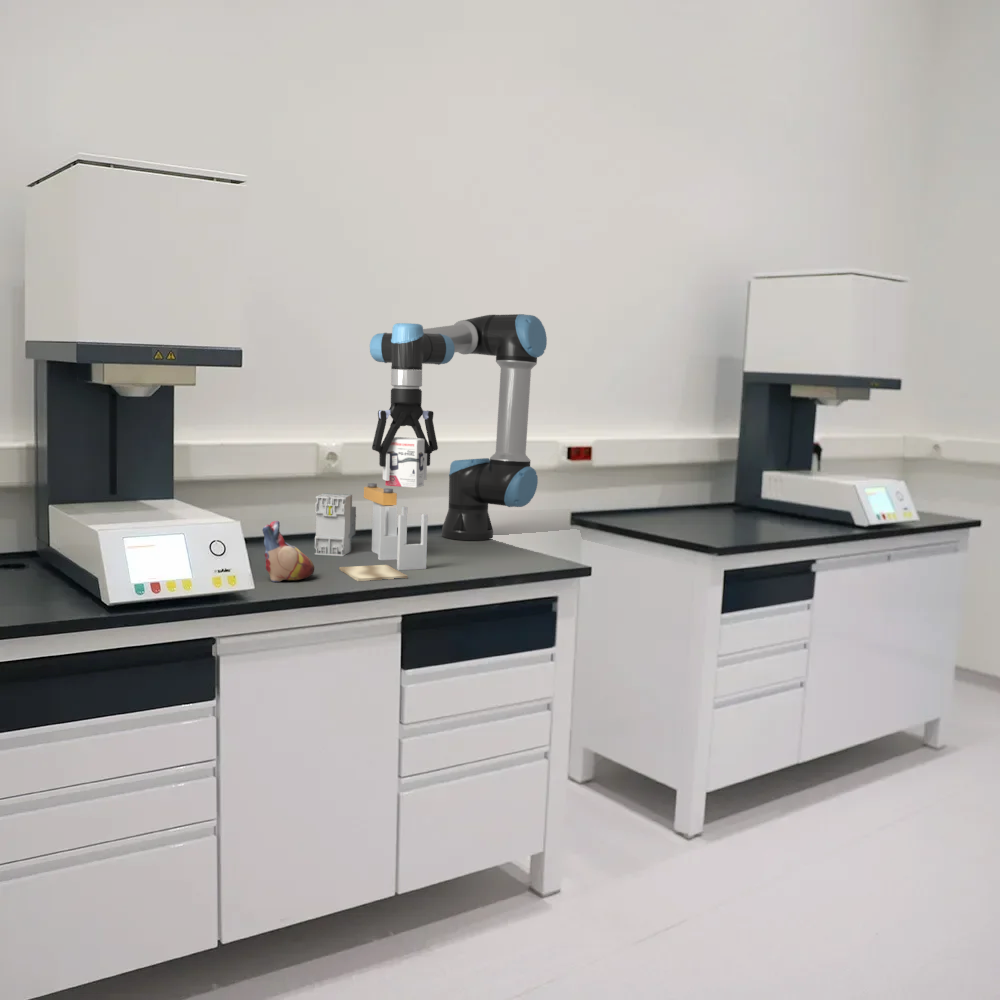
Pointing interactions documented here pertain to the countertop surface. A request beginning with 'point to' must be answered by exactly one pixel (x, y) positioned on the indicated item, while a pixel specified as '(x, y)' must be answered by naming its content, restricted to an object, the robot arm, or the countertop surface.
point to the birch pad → (372, 572)
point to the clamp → (397, 538)
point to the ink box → (406, 462)
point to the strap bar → (380, 495)
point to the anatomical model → (284, 557)
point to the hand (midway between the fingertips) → (404, 479)
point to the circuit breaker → (334, 524)
